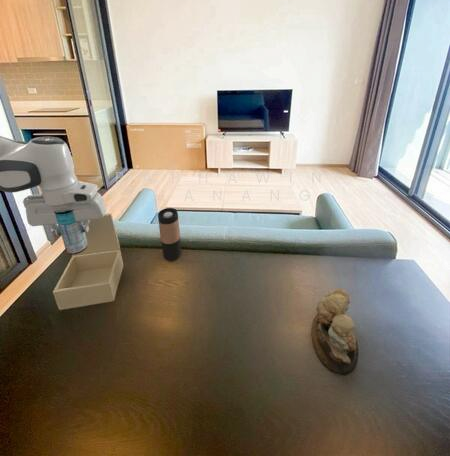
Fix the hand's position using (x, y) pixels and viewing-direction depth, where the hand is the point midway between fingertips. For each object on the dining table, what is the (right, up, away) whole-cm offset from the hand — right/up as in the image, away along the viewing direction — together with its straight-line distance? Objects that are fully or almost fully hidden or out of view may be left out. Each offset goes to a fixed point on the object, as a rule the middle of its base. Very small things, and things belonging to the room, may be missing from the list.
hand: (73, 232), depth 74 cm
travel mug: (+25, -17, +26) cm, 40 cm away
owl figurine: (+77, -29, -6) cm, 82 cm away
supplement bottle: (0, -6, +2) cm, 6 cm away
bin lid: (-2, -5, +13) cm, 14 cm away
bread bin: (0, -23, +12) cm, 26 cm away
